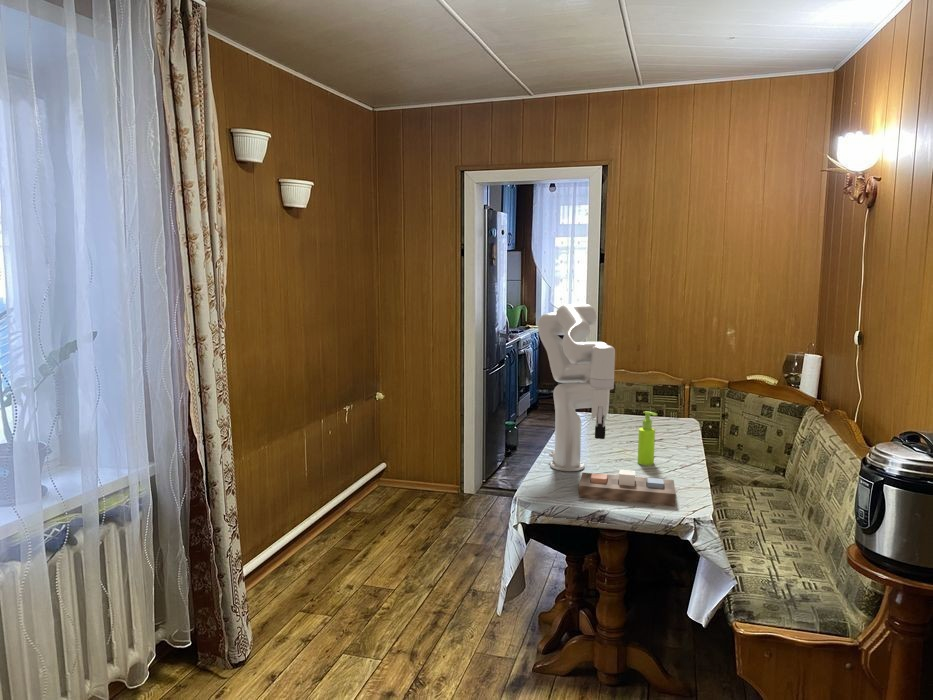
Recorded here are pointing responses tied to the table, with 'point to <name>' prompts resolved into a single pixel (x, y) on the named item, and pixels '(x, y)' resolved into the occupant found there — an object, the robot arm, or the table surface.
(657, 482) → the slate key
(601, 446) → the table surface
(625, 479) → the ivory key
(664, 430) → the table surface
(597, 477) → the terracotta key
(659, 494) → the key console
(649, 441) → the soap dispenser
